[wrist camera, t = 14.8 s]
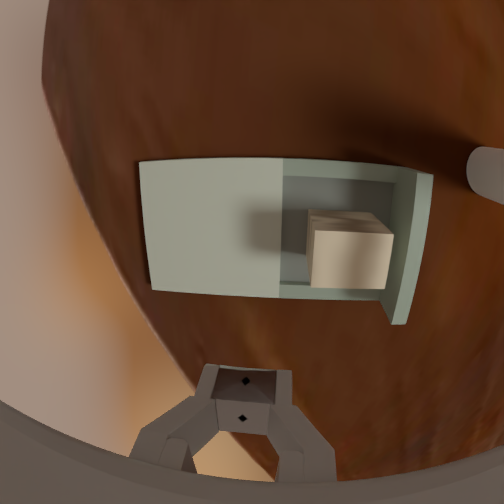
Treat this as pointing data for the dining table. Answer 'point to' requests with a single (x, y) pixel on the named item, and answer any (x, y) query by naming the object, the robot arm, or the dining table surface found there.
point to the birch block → (347, 250)
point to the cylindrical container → (487, 173)
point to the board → (275, 224)
